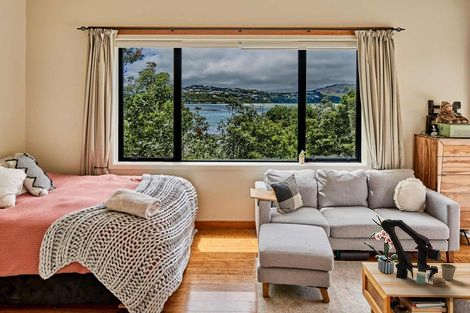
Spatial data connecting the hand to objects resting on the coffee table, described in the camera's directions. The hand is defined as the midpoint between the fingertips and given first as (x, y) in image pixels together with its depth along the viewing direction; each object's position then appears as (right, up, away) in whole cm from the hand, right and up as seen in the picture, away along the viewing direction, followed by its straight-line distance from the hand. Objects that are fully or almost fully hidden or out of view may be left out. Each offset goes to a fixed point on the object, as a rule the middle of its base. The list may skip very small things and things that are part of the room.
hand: (420, 280), depth 275 cm
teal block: (0, -1, 0) cm, 1 cm away
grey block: (+8, -1, +6) cm, 11 cm away
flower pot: (+20, -1, +6) cm, 21 cm away
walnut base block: (+10, -2, -3) cm, 11 cm away
